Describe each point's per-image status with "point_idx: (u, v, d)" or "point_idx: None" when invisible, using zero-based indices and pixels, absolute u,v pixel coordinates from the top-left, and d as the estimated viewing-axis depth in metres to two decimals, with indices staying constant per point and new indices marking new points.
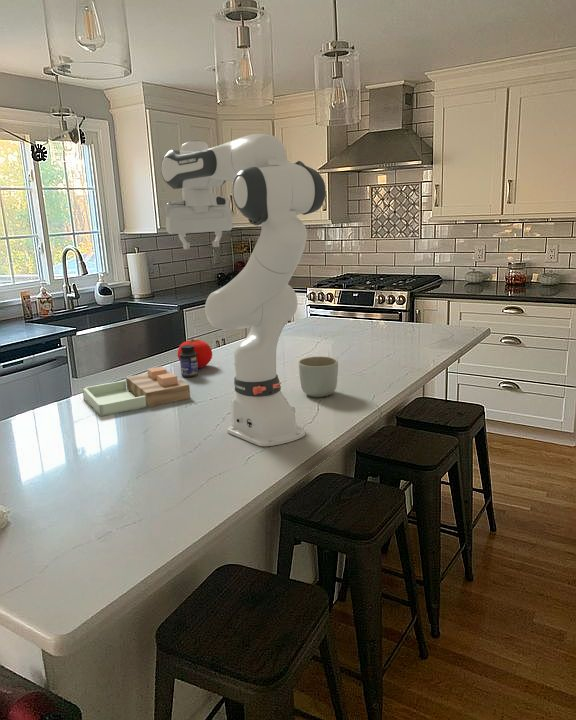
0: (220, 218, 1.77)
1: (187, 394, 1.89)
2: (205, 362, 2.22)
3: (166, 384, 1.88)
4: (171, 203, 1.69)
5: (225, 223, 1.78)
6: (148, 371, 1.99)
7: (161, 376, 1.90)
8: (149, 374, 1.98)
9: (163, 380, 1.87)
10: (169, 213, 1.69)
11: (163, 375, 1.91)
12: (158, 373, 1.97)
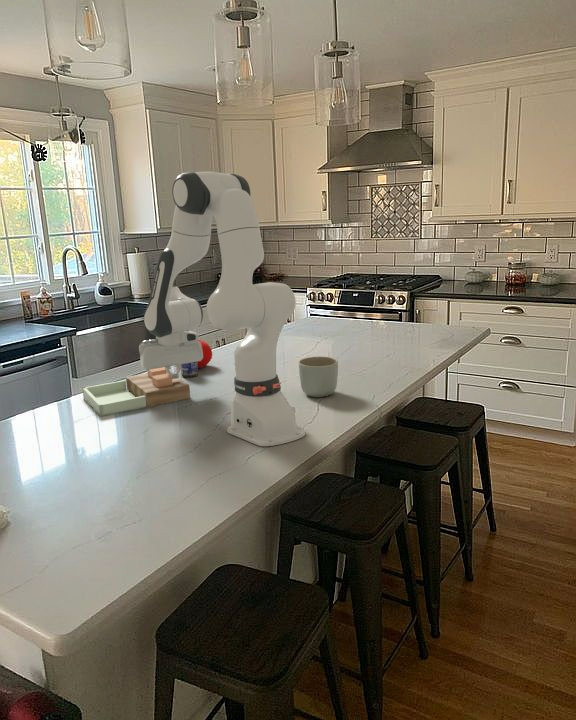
0: (191, 351, 1.91)
1: (187, 394, 1.89)
2: (205, 362, 2.22)
3: (161, 385, 1.87)
4: (144, 342, 1.84)
5: (195, 355, 1.92)
6: (148, 371, 1.99)
7: (156, 377, 1.89)
8: (149, 374, 1.98)
9: (158, 381, 1.87)
10: (143, 352, 1.84)
11: (158, 376, 1.90)
12: (158, 373, 1.97)
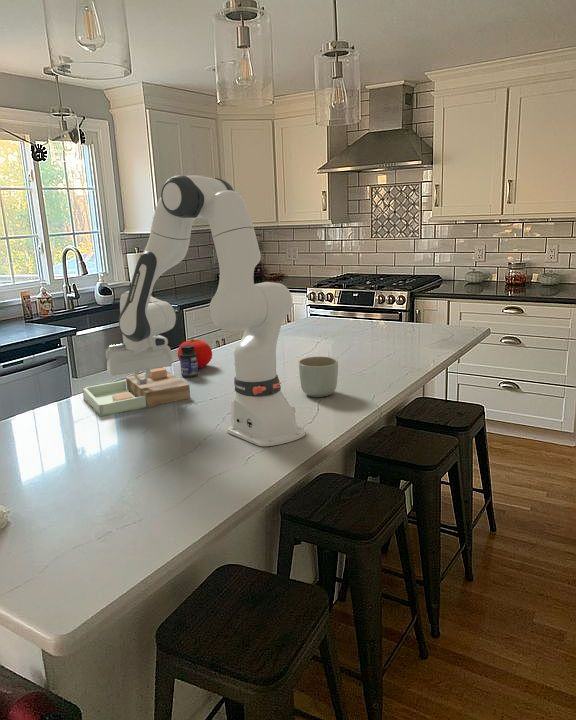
0: (160, 356, 1.86)
1: (187, 394, 1.89)
2: (205, 362, 2.22)
3: (128, 398, 1.83)
4: (111, 347, 1.79)
5: (165, 360, 1.87)
6: None
7: None
8: None
9: None
10: (109, 357, 1.79)
11: None
12: (158, 373, 1.97)
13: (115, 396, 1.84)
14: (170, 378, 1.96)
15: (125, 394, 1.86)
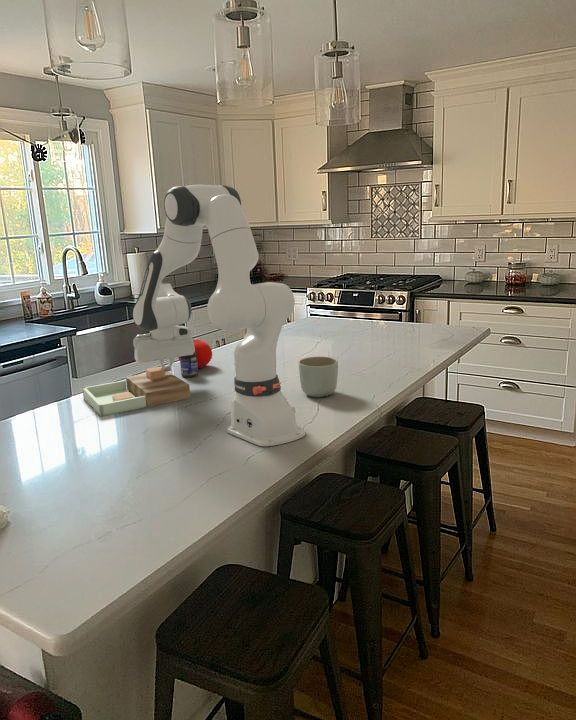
0: (183, 345, 2.00)
1: (187, 394, 1.89)
2: (205, 362, 2.22)
3: (128, 398, 1.83)
4: (138, 337, 1.93)
5: (187, 349, 2.01)
6: (146, 371, 1.98)
7: None
8: (147, 374, 1.98)
9: None
10: (137, 346, 1.93)
11: None
12: (157, 374, 1.97)
13: (115, 396, 1.84)
14: (170, 378, 1.96)
15: (125, 394, 1.86)
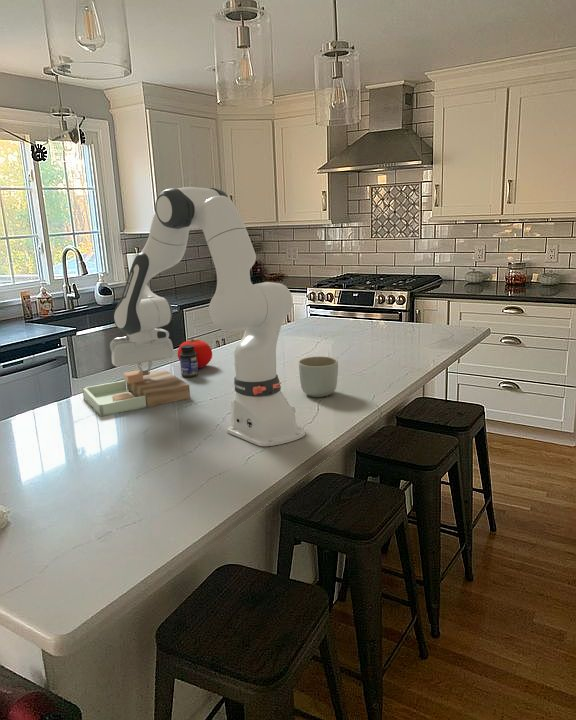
0: (161, 348, 1.97)
1: (187, 394, 1.89)
2: (205, 362, 2.22)
3: (128, 398, 1.83)
4: (115, 340, 1.89)
5: (166, 352, 1.98)
6: (124, 375, 1.95)
7: None
8: (125, 378, 1.94)
9: None
10: (113, 349, 1.89)
11: None
12: (134, 378, 1.93)
13: (115, 396, 1.84)
14: (170, 378, 1.96)
15: (125, 394, 1.86)
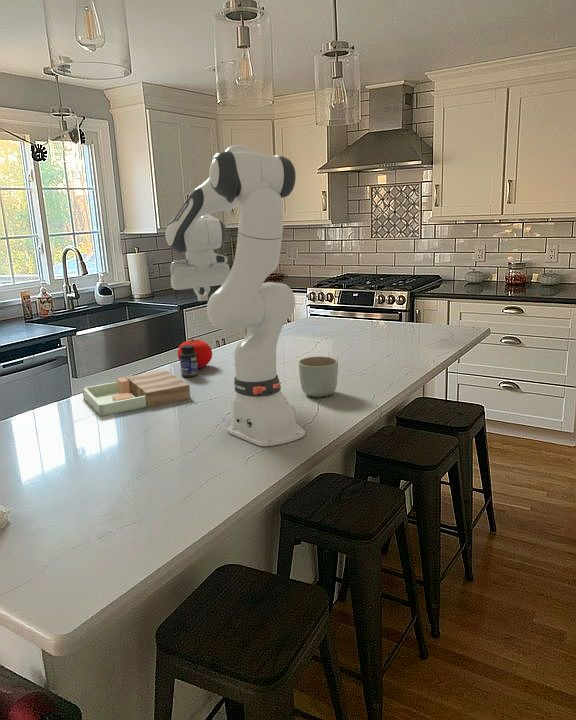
0: (220, 274, 1.96)
1: (187, 394, 1.89)
2: (205, 362, 2.22)
3: (128, 398, 1.83)
4: (175, 262, 1.88)
5: (224, 278, 1.97)
6: None
7: None
8: None
9: None
10: (174, 271, 1.88)
11: None
12: (125, 389, 1.92)
13: (115, 396, 1.84)
14: (170, 378, 1.96)
15: (125, 394, 1.86)
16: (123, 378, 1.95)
